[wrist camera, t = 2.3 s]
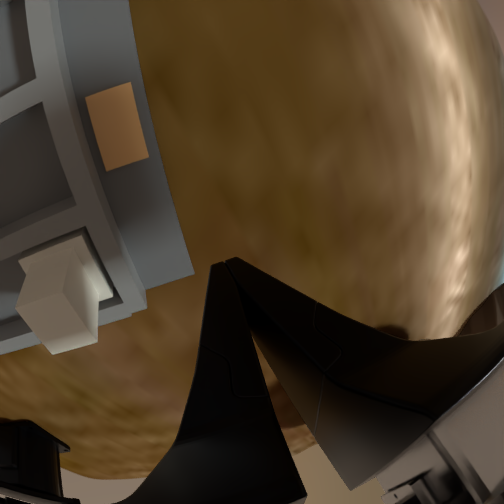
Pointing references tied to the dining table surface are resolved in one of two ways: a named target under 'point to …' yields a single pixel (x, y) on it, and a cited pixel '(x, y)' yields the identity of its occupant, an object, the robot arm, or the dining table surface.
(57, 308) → the tab
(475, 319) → the decorative dome
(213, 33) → the dining table surface
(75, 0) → the switch bank
